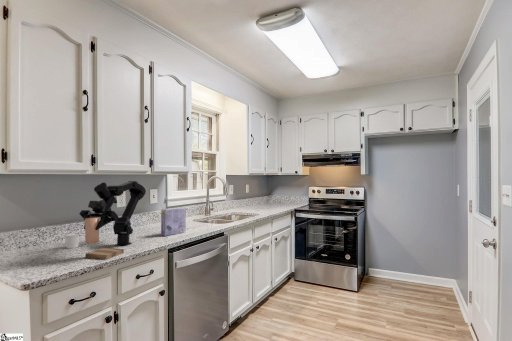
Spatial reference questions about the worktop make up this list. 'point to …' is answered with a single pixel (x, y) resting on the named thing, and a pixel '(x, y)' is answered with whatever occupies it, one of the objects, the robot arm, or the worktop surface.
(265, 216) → the worktop surface
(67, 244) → the shot glass
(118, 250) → the walnut stand
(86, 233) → the pink rounded glossy part
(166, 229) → the cake pan box
